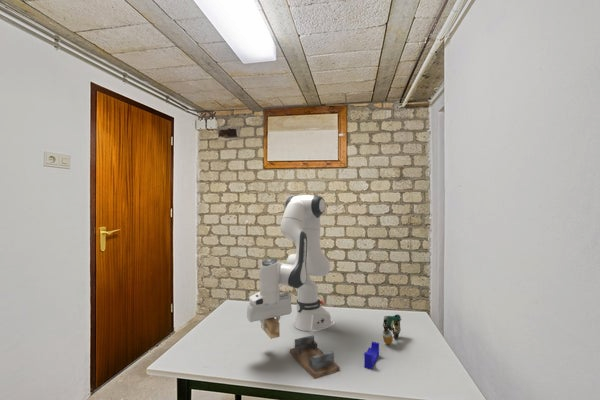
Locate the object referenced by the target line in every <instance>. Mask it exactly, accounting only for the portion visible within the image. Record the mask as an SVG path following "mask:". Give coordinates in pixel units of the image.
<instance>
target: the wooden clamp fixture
mask: <svg viewBox="0 0 600 400" xmlns="http://www.w3.org/2000/svg"><path fill="white" fill-rule="evenodd" d="M318 346H319V345H318V342H316V341H315V335H314V334H313V335H307V336H304V337H300V338H296V339H294V347H292V348H289V354H291V355H292V356H293V358H295V360H296V361H297V362H298V363H299V364H300V365H301V367H303V369H305V371H306V372H307V373H308V374H309V375H310V376H311V377H312V378H313V379H316V378H320V377H323V376H326V375H329V374H332V373H336V372H339V371H340V369H341V368H340V367H341V366H339V365H338V364H337V363H336V362H335V357H334V356H335V353H334V351H329V352H324V351H323V350H321V349H320V348H319V347H318Z"/></svg>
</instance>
